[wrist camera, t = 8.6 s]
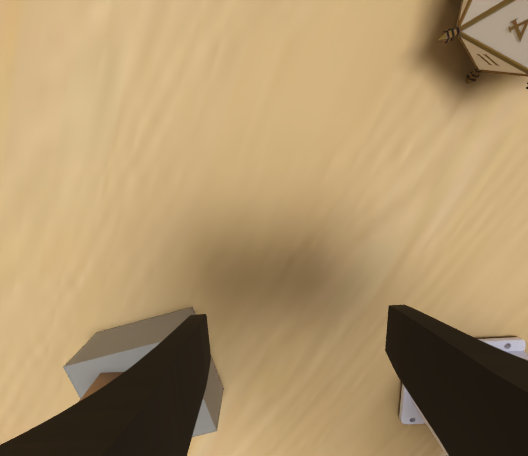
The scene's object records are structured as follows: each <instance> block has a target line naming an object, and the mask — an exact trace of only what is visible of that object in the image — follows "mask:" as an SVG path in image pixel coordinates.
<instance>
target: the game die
mask: <svg viewBox="0 0 528 456" xmlns="http://www.w3.org/2000/svg"><path fill="white" fill-rule="evenodd" d="M455 36H457V37H458V38H459V40H460V42H461V44H462V45H463V47H464V49H465V50H466V52H467V54H468V55H469V57H470V59H471V61H472V62H473V64H474V66H475V67H476V69H475V70H474V71H472V72H470V73H471V74H470V75H468V76H467V77H468V78H467V83H469V82H471V81H475V80H476V78H477V77H479V73H480V72H491V73H501V74H511V75H520V76H528V0H462V1H461V6H460V11H459V16H458V20H457V25H456V28H455V29H449V30H448V31H444V32H443V34H442V35H441V37H440V38H439V39H438V41H443V42H445V43H447V42H448V41H449V40H450V41H451V40H452V39H453V38H454V37H455ZM527 84H528V83H527ZM526 89H528V87H526Z"/></svg>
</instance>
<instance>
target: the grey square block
mask: <svg viewBox="0 0 528 456" xmlns="http://www.w3.org/2000/svg"><path fill="white" fill-rule="evenodd" d="M190 315H195V312H194V310H193V307H191V308H187V309H183V310H179V311H176V312H172V313H168V314H164V315H161V316H157V317H153V318H149V319H145V320H142V321H138V322H134V323H130V324H126V325H123V326H119V327H115V328H111V329H108V330H104V331H100V332H97V333H96V334H95V335H94V336H93V337H92V338H91V339H90V340H89V341H88V342H87V343H86V344H85V345H84V346H83V347H82V348H81V349H80V350H79V351H78V352H77V353H76V354H75V355H74V356H73V357H72V358H71V359H70V360H69V361H68V362H67V363H66V365H65V366H64V367H63V368H64V370H65V371H66V373H67V375H68V377H69V379H70V381H71V382H72V384H73V386H74V388H75V390H76V391H77V393H78V395H79V397H80V399H81V398H82V397H83V395H84V394H85V393H86V391H87V390H88V389H89V387H90V386H91V385H92V384H93V382H94V381H95V380H96V378H97V377H98V376H99V374H100V373H109V372H125V371H126V370H128V369H129V368H130V367H131V366H133V365H134V364H135V363H136V362H138V361H139V360H140V359H141V358H143V357H144V356H145V355H146V354H147V353H149V352H150V351H151V350H152V349H154V348H155V347H156V346H157V345H158V344H159V343H160V342H162V341H163V340H164V339H165V338H166V337H167V336H168V335H169V334H170V333H172V332H173V331H174V330H175V329H176V328H177V327H178V326H179V325H180V324H181V323H182V322H183V321H184V320H186V319H187V318H188V317H189V316H190ZM223 390H224V388H223V385H222V383H221V380H220V377H219V375H218V372H217V370H216V367H215V364H214V362H213V359H212V357H211V362H210V369H209V375H208V381H207V386H206V390H205V393H204V397H203V400H202V404H201V407H200V411H199V414H198V418H197V421H196V425H195V428H194V432H193V435H192V437H194V436H199V435H203V434H207V433H211V432H215V431H217V427H218V421H219V415H220V408H221V402H222V396H223Z"/></svg>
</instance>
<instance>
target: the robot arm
mask: <svg viewBox="0 0 528 456" xmlns="http://www.w3.org/2000/svg"><path fill="white" fill-rule="evenodd" d="M525 346H526V343H525V341H524V340H522V339H521V338H519V337H510V338H490V339H476V338H474V337H472V336H470V335H467V334H465V333H463V332H461V331H459V330H457V329H455V328H453V327H451V326H449V325H447V324H445V323H443V322H441V321H439V320H437V319H434V318H432V317H430V316H428V315H426V314H424V313H422V312H420V311H418V310H416V309H414V308H411V307H409V306H406V305H390V306H389V310H388V322H387V335H386V348H385V351H386V353H387V355H388V357H389V359H390V361H391V364H392V366H393V368H394V369H395V371H396V373H397V375H398V377H399V379H400V380H401V382H402V392H401V402H400V413H399V419H400V421H401V422H402V423H403V424H425V423H426V425H427V426H428V428H429V429H430V431H431V433H432V434H433V436H434V437H435V439H436V440H437V442H438V443H439V445H440V447H441V448H442V450H443V451H444V453H445V454H446V456H528V354H527V353H526V352H524V350H525ZM210 362H211V354H210V344H209V335H208V326H207V316H206V314H200V315H190V316H189V317H188V318H187V319H186V320H184V321H183V322H182V323H181V324H180V325H179V326H178V327H177V328H176V329H175V330H174V331H173V332H172V333H170V334H169V335H168V336H167V337H166V338H165V339H164V340H163V341H162V342H160V343H159V344H158V345H157V346H156V347H155V348H154V349H152V350H151V351H150V352H149V353H147V354H146V355H145V356H144V357H143V358H141V359H140V360H139V361H138V362H136V363H135V364H134V365H133V366H131V367H130V368H129V369H128V370H126V371H125V372H123V373H122V374H121V375H119V376H118V377H116V378H115V379H114V380H112V381H111V382H109V383H108V384H106V385H105V386H104V387H102V388H101V389H99V390H97V391H96V392H94V393H93V394H91V395H89V396H88V397H86V398H84V399H83V400H81V401H80V402H78V403H76V404H75V405H73V406H71V407H70V408H68V409H67V410H65V411H63V412H62V413H60V414H58V415H56V416H54V417H53V418H51V419H49V420H47V421H45V422H44V423H42V424H40V425H38V426H36V427H34V428H32V429H31V430H29V431H27V432H25V433H23V434H21V435H19V436H17V437H15V438H13V439H11V440H9V441H7V442H5V443H3V444H1V445H0V456H187V453H188V449H189V446H190V442H191V439H192V435H193V432H194V428H195V425H196V421H197V418H198V414H199V411H200V407H201V404H202V400H203V397H204V393H205V390H206V386H207V381H208V375H209V369H210Z"/></svg>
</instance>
